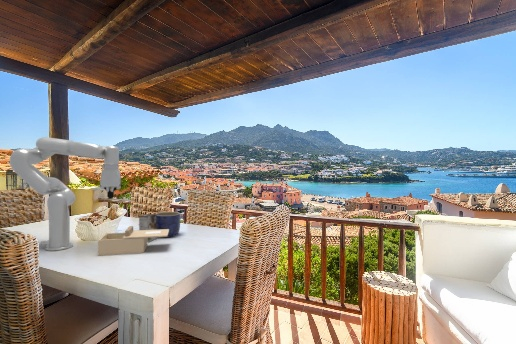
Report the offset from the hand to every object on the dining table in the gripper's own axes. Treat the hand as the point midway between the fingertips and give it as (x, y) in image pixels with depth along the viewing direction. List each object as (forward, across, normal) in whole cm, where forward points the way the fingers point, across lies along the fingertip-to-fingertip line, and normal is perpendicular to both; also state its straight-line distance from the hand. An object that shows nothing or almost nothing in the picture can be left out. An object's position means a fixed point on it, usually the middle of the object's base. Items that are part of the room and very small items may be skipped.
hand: (110, 198), depth 161 cm
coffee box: (+27, +20, +7) cm, 35 cm away
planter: (+27, +31, +18) cm, 45 cm away
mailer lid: (+19, +23, -11) cm, 31 cm away
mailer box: (+27, +11, -11) cm, 31 cm away
